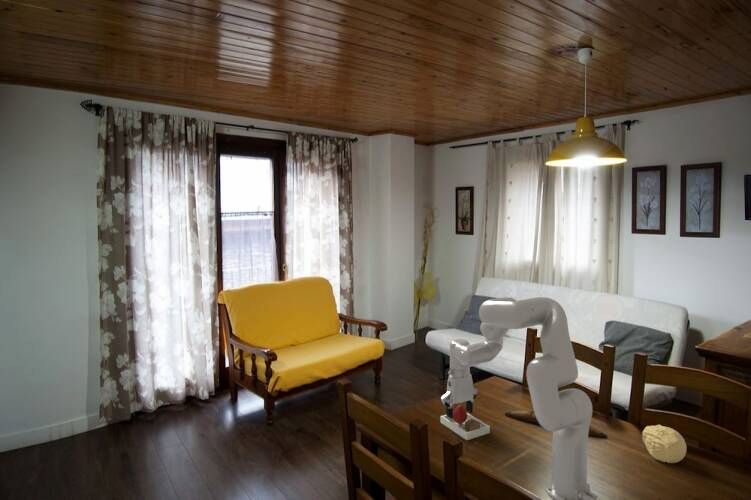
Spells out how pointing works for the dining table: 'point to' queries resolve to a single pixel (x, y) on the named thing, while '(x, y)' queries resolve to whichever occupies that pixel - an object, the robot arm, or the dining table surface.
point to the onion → (459, 415)
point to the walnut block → (471, 425)
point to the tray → (461, 428)
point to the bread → (532, 418)
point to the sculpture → (664, 443)
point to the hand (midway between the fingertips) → (459, 414)
